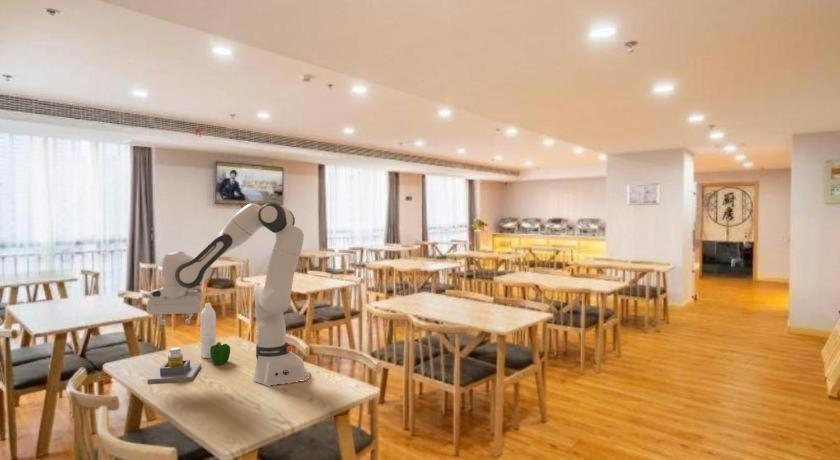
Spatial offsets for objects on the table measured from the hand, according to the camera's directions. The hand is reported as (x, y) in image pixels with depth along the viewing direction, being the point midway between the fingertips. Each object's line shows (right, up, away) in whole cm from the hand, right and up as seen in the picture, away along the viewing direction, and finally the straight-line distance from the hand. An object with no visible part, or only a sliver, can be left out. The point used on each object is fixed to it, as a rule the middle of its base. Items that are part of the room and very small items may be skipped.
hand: (175, 324), depth 193 cm
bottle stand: (0, -21, +1) cm, 21 cm away
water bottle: (+2, -20, +24) cm, 31 cm away
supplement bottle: (0, -20, +1) cm, 20 cm away
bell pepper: (+12, -21, +16) cm, 29 cm away
